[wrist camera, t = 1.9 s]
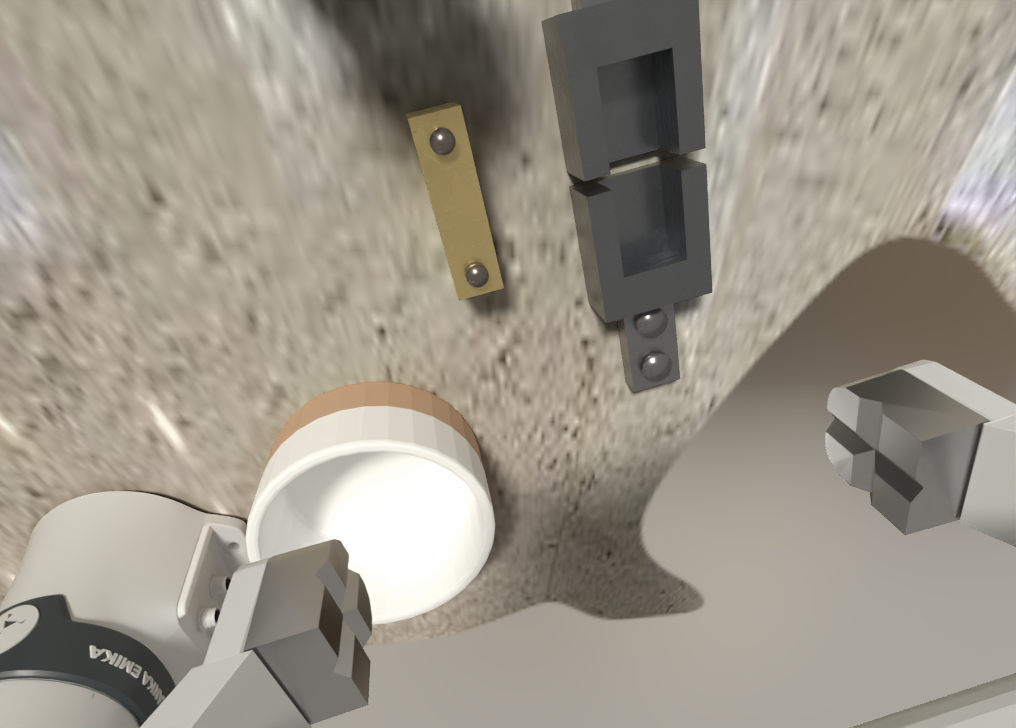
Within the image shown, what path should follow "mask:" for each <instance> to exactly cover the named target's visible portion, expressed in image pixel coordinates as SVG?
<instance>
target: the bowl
mask: <svg viewBox="0 0 1016 728" xmlns="http://www.w3.org/2000/svg"><path fill="white" fill-rule="evenodd" d="M494 533H495V518H494V511H493V505H492V501H491V497H490V492H489V488H488V483H487V479H486V475H485V471H484V468H483V464H482V460H481V455H480V451H479V447H478V443H477V441H476V438H475V436H474V434H473V431H472V429H471V428H470V426H469V425H468V423H467V422H466V421H465V419H464V418H463V417H462V415H461V414H460V413H459V412H457V411H456V410H455V409H454V408H453V407H452V406H451V405H450V404H448V403H447V402H446V401H444V400H442V399H441V398H439V397H437V396H435V395H434V394H432V393H430V392H427V391H425V390H422V389H419V388H416V387H413V386H411V385H405V384H399V383H393V382H363V383H358V384H352V385H346V386H343V387H340V388H337V389H334V390H331V391H329V392H326V393H323V394H322V395H320V396H318V397H316V398H315V399H313V400H311V401H310V402H308V403H306V404H305V405H304V406H302V407H301V408H300V409H299V410H298V411H297V412H296V413H295V414H293V415H292V416H291V417H290V418H289V419H288V421H287V422H286V423H285V425H284V426H283V428H282V429H281V430H280V432H279V433H278V435H277V438H276V440H275V443H274V445H273V447H272V450H271V453H270V456H269V459H268V462H267V465H266V468H265V471H264V474H263V476H262V478H261V481H260V484H259V487H258V490H257V493H256V496H255V499H254V502H253V505H252V508H251V511H250V514H249V517H248V522H247V530H246V538H245V539H246V546H247V552H248V558H249V561H250V563H252V562H256V561H259V560H263V559H267V558H271V557H273V556H275V555H279V554H282V553H286V552H289V551H293V550H297V549H300V548H304V547H307V546H311V545H315V544H318V543H322V542H326V541H329V540H333V539H336V540H340V541H341V542H342V544H343V545H344V547H345V549H346V550H347V552H348V554H349V562H348V569H350V570H352V571H354V572H356V573H358V574H360V576H361V578H362V580H363V582H364V584H365V586H366V589H367V592H368V595H369V598H370V605H371V612H372V625H373V624H384V623H391V622H396V621H400V620H405V619H409V618H412V617H415V616H417V615H420V614H423V613H426V612H428V611H431V610H433V609H434V608H436V607H438V606H440V605H442V604H444V603H446V602H447V601H449V600H450V599H452V598H453V597H454V596H456V595H457V594H458V593H460V592H461V591H462V590H464V589H465V588H466V587H467V586H468V584H469V583H470V582H471V581H472V580H473V579H474V578H475V577H476V576H477V575H478V573H479V572H480V570H481V569H482V567H483V565H484V564H485V562H486V561H487V559H488V556H489V553H490V550H491V548H492V545H493V542H494Z"/></svg>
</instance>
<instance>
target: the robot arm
mask: <svg viewBox="0 0 1016 728" xmlns="http://www.w3.org/2000/svg"><path fill="white" fill-rule="evenodd" d="M827 410H828V411H829V412H830V413H831V414H832V415H833V416H834V417H835V419H834V420H833V422H832V423H831V425H830V426H829V428H828V429H827V430H826V439H825V448H826V451H827V454H828V457H829V459H830V462H831V464H832V465H833V467H834V468H835V470H836V471H837V473H838V474H839V475H840V476H841V477H842V478H843V479H844V480H845V481H846V482H847V483H848V484H849V485H850V486H853V487H856V488H859V489H862V490H865V491H868V492H870V498H871V505H872V506H873V507H874V508H875V509H877V510H878V511H879V512H880V513H881V514H882V515H883V516H884V517H885V518H887V519H888V520H889V521H890V522H891V523H892V524H893V525H894V526H895V527H897V528H898V529H899V530H900V531H901V532H902V533H903V534H904V535H907V534H911V533H914V532H918V531H921V530H924V529H928V528H932V527H935V526H939V525H942V524H946V523H949V522H953V521H956V520H960V521H959V523H961V524H963V525H966V526H968V527H971V528H973V529H975V530H978V531H980V532H982V533H985V534H987V535H989V536H992V537H994V538H996V539H999V540H1001V541H1004V542H1006V543H1008V544H1011V545H1013V546H1015V547H1016V404H1014V403H1012V402H1010V401H1008V400H1006V399H1004V398H1003V397H1001V396H999V395H997V394H995V393H993V392H991V391H989V390H987V389H986V388H984V387H982V386H980V385H978V384H976V383H974V382H972V381H970V380H968V379H967V378H965V377H963V376H961V375H959V374H957V373H955V372H954V371H952V370H950V369H948V368H946V367H944V366H942V365H940V364H939V363H936V362H934V361H928V360H920V361H917V362H914V363H911V364H908V365H905V366H902V367H899V368H896V369H893V370H892V371H888V372H885V373H881V374H878V375H875V376H872V377H868V378H865V379H862V380H859V381H856V382H852V383H849V384H846V385H843V386H839V387H836V388H833V390H832V391H831V393H830V395H829V397H828V406H827ZM246 530H247V524H246V523H245V522H244V521H242V520H240V519H237V518H234V517H229V516H223V515H215V514H206V513H203V512H200V511H197V510H195V509H193V508H190V507H188V506H186V505H184V504H181V503H179V502H177V501H174V500H171V499H168V498H165V497H161V496H158V495H153V494H148V493H142V492H132V491H108V492H99V493H93V494H88V495H84V496H80V497H77V498H74V499H72V500H69V501H67V502H65V503H63V504H61V505H59V506H57V507H55V508H54V509H53V510H51V511H50V512H48V513H47V514H46V515H45V516H44V517H43V518H42V519H41V520H40V521H39V522H38V524H37V525H36V526H35V528H34V530H33V532H32V534H31V537H30V540H29V543H28V547H27V550H26V553H25V555H24V558H23V561H22V563H21V565H20V568H19V570H18V572H17V574H16V576H15V578H14V581H13V583H12V585H11V587H10V588H9V590H8V592H7V594H6V596H5V598H4V600H3V602H2V603H1V605H0V728H311V726H310V725H311V724H314V723H317V722H320V721H323V720H325V719H328V718H331V717H334V716H337V715H340V714H343V713H346V712H349V711H351V710H354V709H357V708H360V707H363V706H366V705H368V696H369V677H370V660H369V658H368V656H367V655H366V653H365V651H364V649H363V647H364V645H365V644H366V642H367V641H368V639H369V638H370V636H371V635H372V612H371V605H370V598H369V595H368V592H367V589H366V586H365V584H364V582H363V580H362V578H361V576H360V574H358V573H356V572H354V571H352V570H350V569H348V562H349V554H348V552H347V550H346V549H345V547H344V545H343V544H342V542H341V541H340V540H336V539H333V540H329V541H326V542H322V543H318V544H315V545H311V546H307V547H304V548H300V549H297V550H293V551H289V552H286V553H282V554H279V555H275V556H273V557H271V558H267V559H263V560H259V561H256V562H252V563H250V561H249V558H248V552H247V546H246V539H245V538H246ZM232 542H235V543H238V544H235V543H232ZM851 728H1016V673H1015V674H1012V675H1009V676H1006V677H1003V678H1000V679H996V680H994V681H990V682H987V683H985V684H981V685H978V686H975V687H972V688H969V689H966V690H963V691H960V692H957V693H954V694H951V695H948V696H945V697H942V698H939V699H936V700H933V701H930V702H927V703H924V704H921V705H918V706H915V707H912V708H909V709H905V710H903V711H899V712H896V713H893V714H890V715H887V716H884V717H881V718H879V719H875V720H872V721H869V722H866V723H863V724H860V725H857V726H854V727H851Z"/></svg>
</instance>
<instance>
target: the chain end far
mask: <svg viewBox="0 0 1016 728" xmlns="http://www.w3.org/2000/svg"><path fill="white" fill-rule="evenodd" d="M570 193H571V199H572V205H573V211H574V217H575V223H576V229H577V235H578V241H579V247H580V253H581V259H582V265H583V271H584V277H585V282H586V288H587V294H588V300H589V304H590V305H591V306H592V307H593V308H594V310H595V311H596V312H597V313H598V314H599V315H600V317H601V318H602V319H603V320H604V321H605V322H606V323H609V322H613V321H616V320H617V324H618V331H619V338H620V345H621V352H622V359H623V366H624V373H625V380H626V383H627V384H628V385H629V387H630V388H631V389H632V391H633V392H638V391H641V390H644V389H648V388H651V387H654V386H658V385H661V384H664V383H668V382H671V381H674V380H678V379H680V371H679V360H678V348H677V337H676V325H675V313H674V303H678V302H681V301H685V300H688V299H691V298H695V297H698V296H702V295H705V294H709V293H712V275H711V254H710V233H709V212H708V191H707V170H706V164H704V163H700V162H697V161H693V160H689V159H686V158H682V157H679V156H678V157H674V158H670V159H667V160H663V161H660V162H656V163H652V164H649V165H645V166H642V167H638V168H634V169H631V170H627V171H624V172H620V173H616V174H613V175H609V176H606V177H602V178H598V179H595V180H591V181H588V182H584V183H580V184H577V185H573V186H570Z"/></svg>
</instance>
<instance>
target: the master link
mask: <svg viewBox="0 0 1016 728" xmlns="http://www.w3.org/2000/svg"><path fill="white" fill-rule="evenodd" d="M406 116H407V119H408V123H409V126H410V130H411V133H412V137H413V140H414V144H415V147H416V151H417V154H418V158H419V162H420V165H421V169H422V172H423V176H424V179H425V183H426V186H427V190H428V193H429V197H430V200H431V204H432V208H433V211H434V215H435V218H436V222H437V225H438V229H439V232H440V236H441V239H442V243H443V247H444V250H445V254H446V257H447V261H448V264H449V268H450V271H451V275H452V278H453V282H454V285H455V288H456V292H457V295H458V298H459V301H460V300H463V299H467V298H470V297H474V296H478V295H481V294H485V293H489V292H492V291H496V290H499V289H503V288H504V286H503V282H502V278H501V274H500V269H499V265H498V261H497V257H496V253H495V248H494V244H493V240H492V236H491V231H490V227H489V223H488V219H487V214H486V210H485V206H484V202H483V197H482V193H481V189H480V185H479V180H478V176H477V172H476V168H475V164H474V159H473V155H472V151H471V147H470V142H469V138H468V134H467V130H466V125H465V121H464V117H463V113H462V108H461V105H459V104H456V103H454V102H451V103H447V104H443V105H439V106H435V107H431V108H427V109H423V110H419V111H415V112H411V113H407V114H406Z"/></svg>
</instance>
